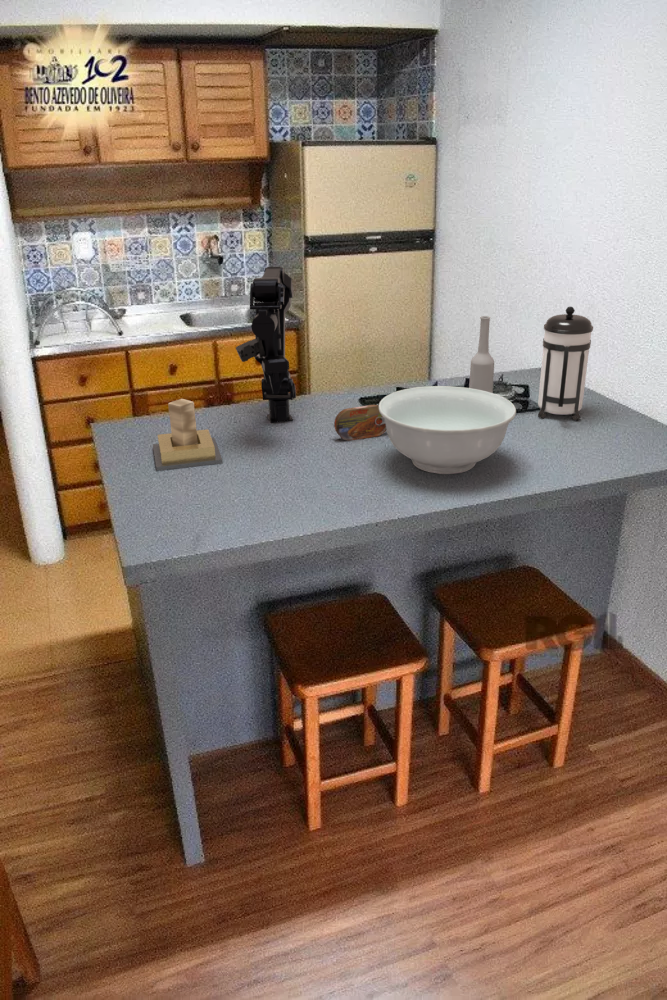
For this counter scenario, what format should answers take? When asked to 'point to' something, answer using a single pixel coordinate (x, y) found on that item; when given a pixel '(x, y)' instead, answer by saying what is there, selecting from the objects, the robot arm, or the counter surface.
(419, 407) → the bowl
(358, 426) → the tin
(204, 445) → the socket
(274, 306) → the robot arm
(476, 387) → the bottle
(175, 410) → the pin
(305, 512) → the counter surface
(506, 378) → the counter surface
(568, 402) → the coffee press
